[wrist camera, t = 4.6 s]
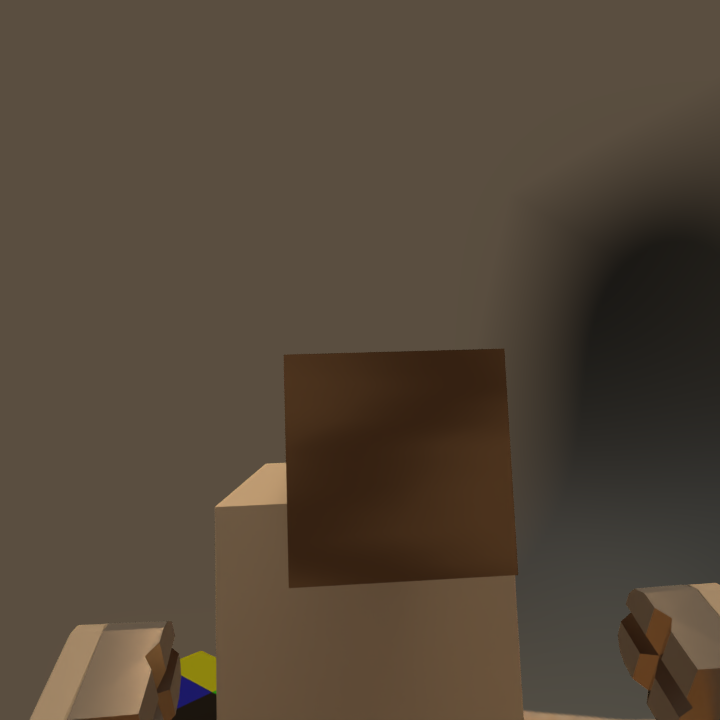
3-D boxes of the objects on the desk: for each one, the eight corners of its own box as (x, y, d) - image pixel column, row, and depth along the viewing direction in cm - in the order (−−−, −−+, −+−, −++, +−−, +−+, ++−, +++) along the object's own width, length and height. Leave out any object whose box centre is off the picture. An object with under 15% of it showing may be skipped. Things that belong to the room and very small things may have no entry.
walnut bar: (378, 460, 33) (376, 395, 34) (517, 574, 9) (503, 349, 10) (313, 463, 33) (311, 397, 33) (288, 588, 9) (283, 354, 10)
